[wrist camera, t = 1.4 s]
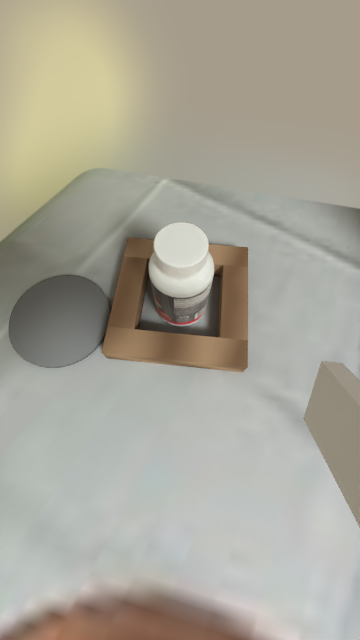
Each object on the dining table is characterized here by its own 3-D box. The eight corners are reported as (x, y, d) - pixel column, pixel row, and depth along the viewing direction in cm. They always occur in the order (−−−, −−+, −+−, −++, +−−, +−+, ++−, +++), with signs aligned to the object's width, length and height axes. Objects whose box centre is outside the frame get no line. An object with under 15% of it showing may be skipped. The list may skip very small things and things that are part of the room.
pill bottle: (148, 292, 28) (133, 226, 19) (194, 275, 29) (200, 205, 20) (166, 335, 26) (159, 285, 17) (215, 317, 27) (232, 259, 18)
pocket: (243, 258, 30) (247, 247, 28) (242, 372, 25) (247, 367, 23) (131, 249, 30) (127, 237, 28) (107, 358, 25) (101, 352, 23)
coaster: (119, 282, 28) (118, 279, 28) (98, 373, 25) (96, 371, 24) (30, 274, 29) (28, 271, 28) (-4, 362, 25) (-8, 360, 25)
